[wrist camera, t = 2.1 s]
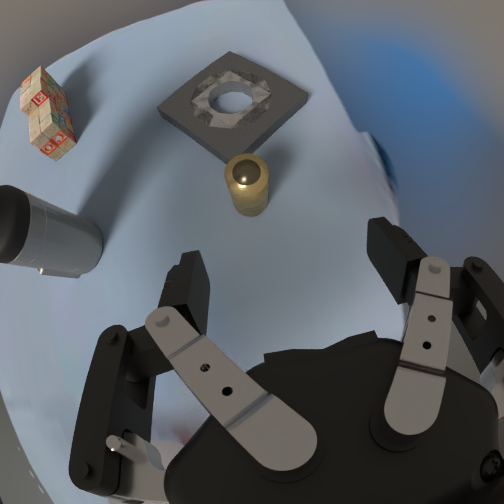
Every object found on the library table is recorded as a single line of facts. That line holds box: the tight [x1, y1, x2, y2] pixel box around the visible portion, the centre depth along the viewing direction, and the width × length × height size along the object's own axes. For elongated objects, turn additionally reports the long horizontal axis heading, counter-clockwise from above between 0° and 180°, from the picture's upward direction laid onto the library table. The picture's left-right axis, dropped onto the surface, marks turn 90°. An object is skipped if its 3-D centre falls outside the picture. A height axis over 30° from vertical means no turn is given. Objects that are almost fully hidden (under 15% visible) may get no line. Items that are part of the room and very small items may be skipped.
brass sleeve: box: [224, 153, 269, 217], centre depth 35 cm, size 5×5×10 cm
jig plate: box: [157, 51, 308, 164], centre depth 41 cm, size 18×18×3 cm
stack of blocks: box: [20, 66, 76, 161], centre depth 39 cm, size 21×6×12 cm, turn 32°
